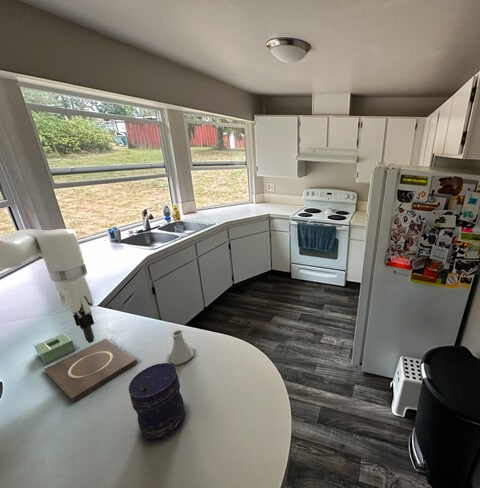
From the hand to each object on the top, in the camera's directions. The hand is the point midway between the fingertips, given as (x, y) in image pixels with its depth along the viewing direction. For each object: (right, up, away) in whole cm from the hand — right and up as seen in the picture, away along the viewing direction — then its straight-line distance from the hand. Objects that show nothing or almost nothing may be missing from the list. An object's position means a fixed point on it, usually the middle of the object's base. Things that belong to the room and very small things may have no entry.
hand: (85, 324), depth 78 cm
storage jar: (+33, -21, -13) cm, 42 cm away
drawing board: (0, -15, +2) cm, 15 cm away
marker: (0, -6, +2) cm, 7 cm away
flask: (+26, -14, +8) cm, 30 cm away
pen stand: (-17, -12, +7) cm, 22 cm away
